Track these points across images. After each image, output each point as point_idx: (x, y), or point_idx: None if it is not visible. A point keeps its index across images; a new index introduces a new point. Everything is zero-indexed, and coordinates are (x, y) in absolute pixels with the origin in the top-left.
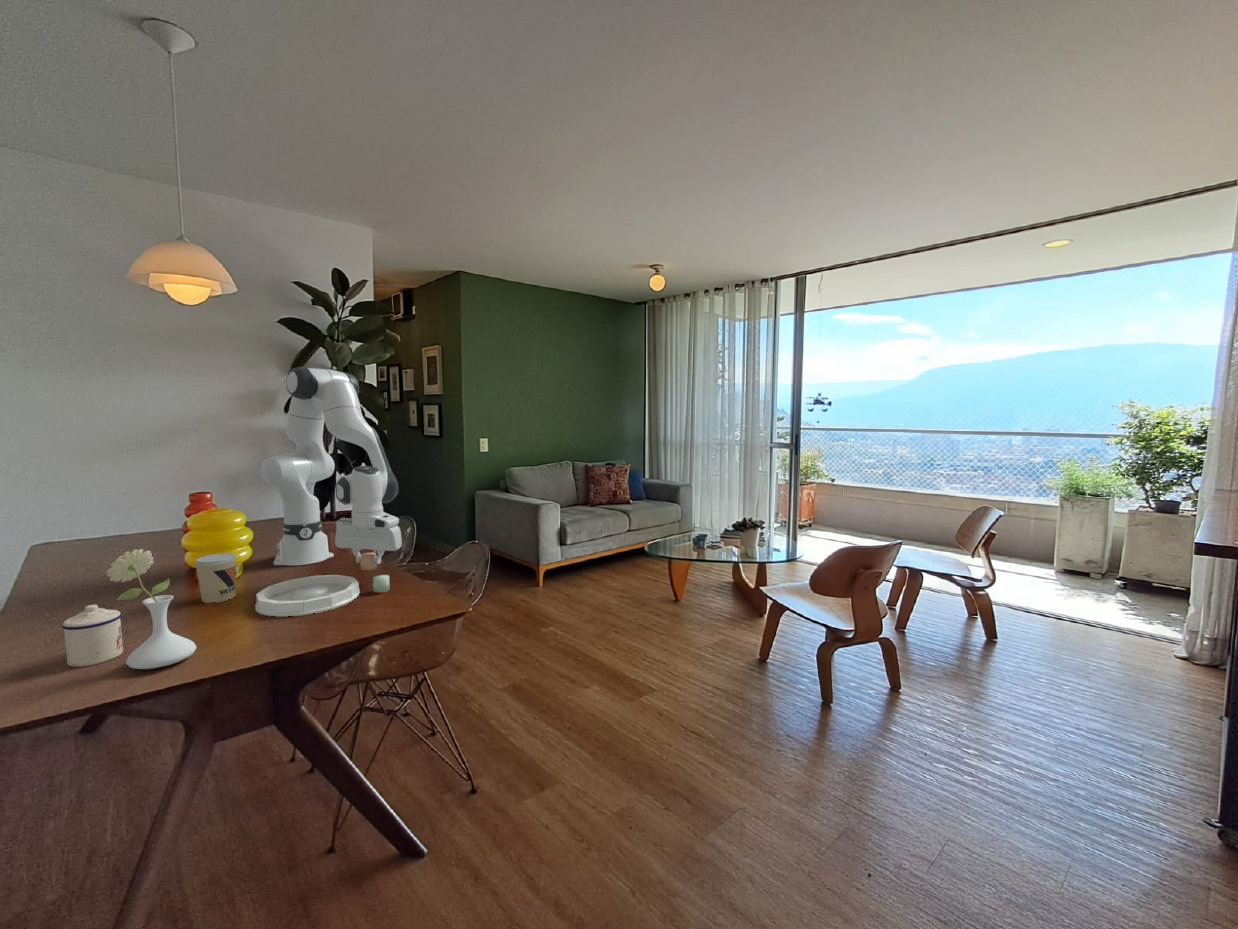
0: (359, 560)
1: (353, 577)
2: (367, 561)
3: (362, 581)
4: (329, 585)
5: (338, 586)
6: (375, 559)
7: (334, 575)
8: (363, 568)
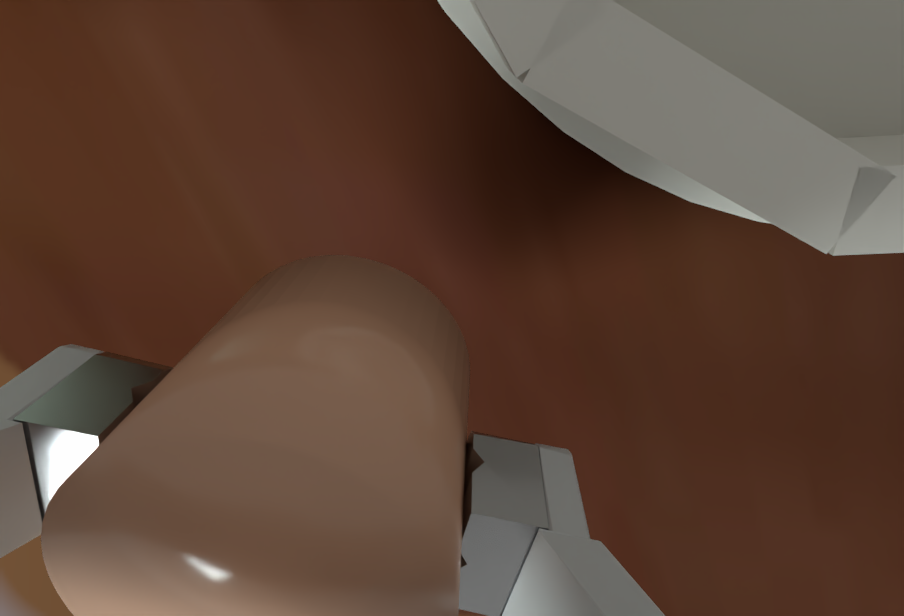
0: (495, 463)
1: (505, 54)
2: (237, 341)
3: (493, 339)
4: (860, 95)
5: (719, 21)
6: (57, 408)
7: (870, 222)
8: (380, 276)
